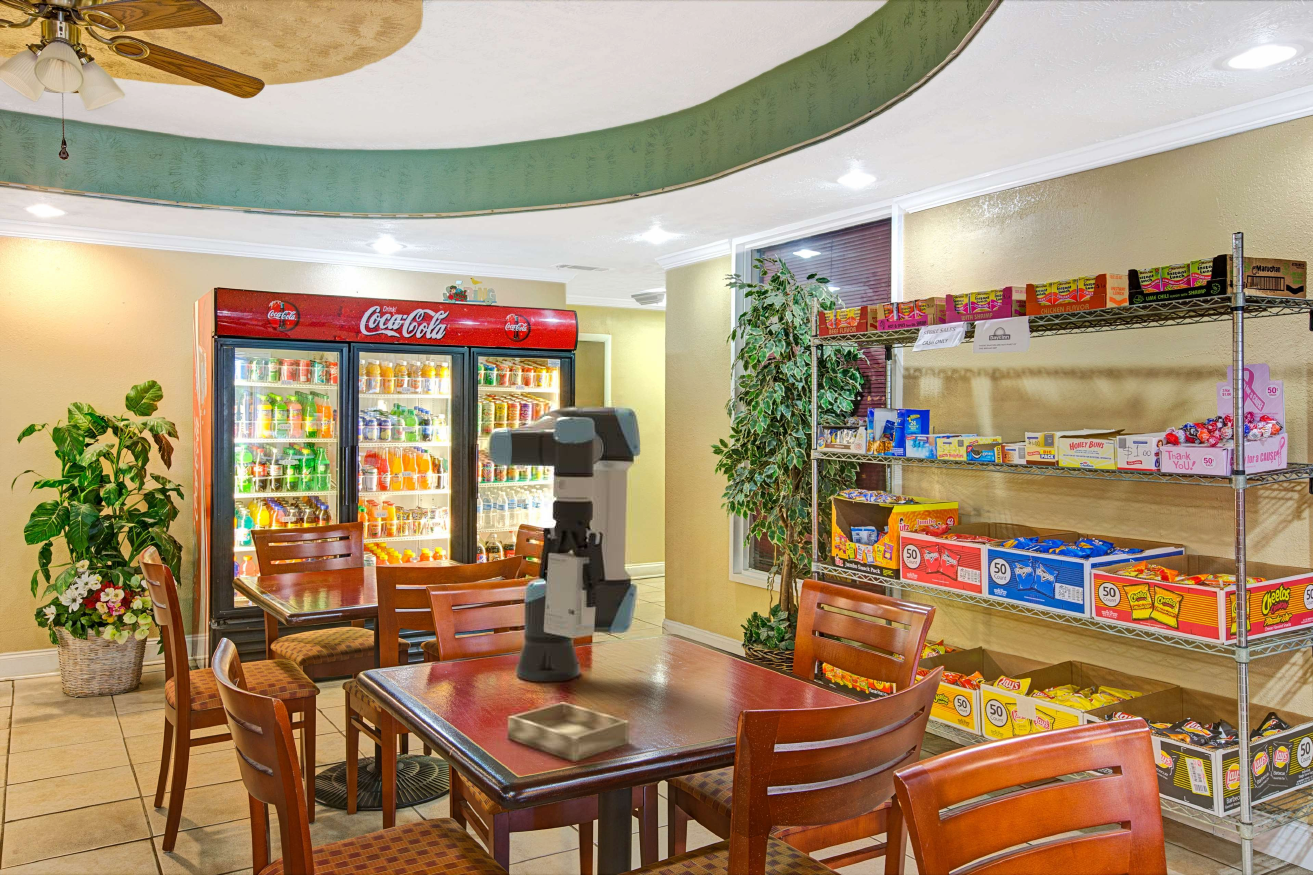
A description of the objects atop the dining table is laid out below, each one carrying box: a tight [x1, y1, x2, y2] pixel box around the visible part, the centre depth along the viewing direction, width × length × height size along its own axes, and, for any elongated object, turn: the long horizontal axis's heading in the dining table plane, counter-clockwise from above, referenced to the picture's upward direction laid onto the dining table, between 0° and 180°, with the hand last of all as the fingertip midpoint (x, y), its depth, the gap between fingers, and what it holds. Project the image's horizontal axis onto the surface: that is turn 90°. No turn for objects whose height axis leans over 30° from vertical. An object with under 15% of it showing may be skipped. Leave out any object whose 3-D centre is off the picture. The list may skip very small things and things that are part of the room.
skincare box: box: [544, 551, 595, 639], centre depth 167 cm, size 8×6×15 cm
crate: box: [507, 701, 630, 763], centre depth 166 cm, size 18×14×4 cm
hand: (570, 621), depth 167 cm, fingers closed on skincare box, 8 cm apart
